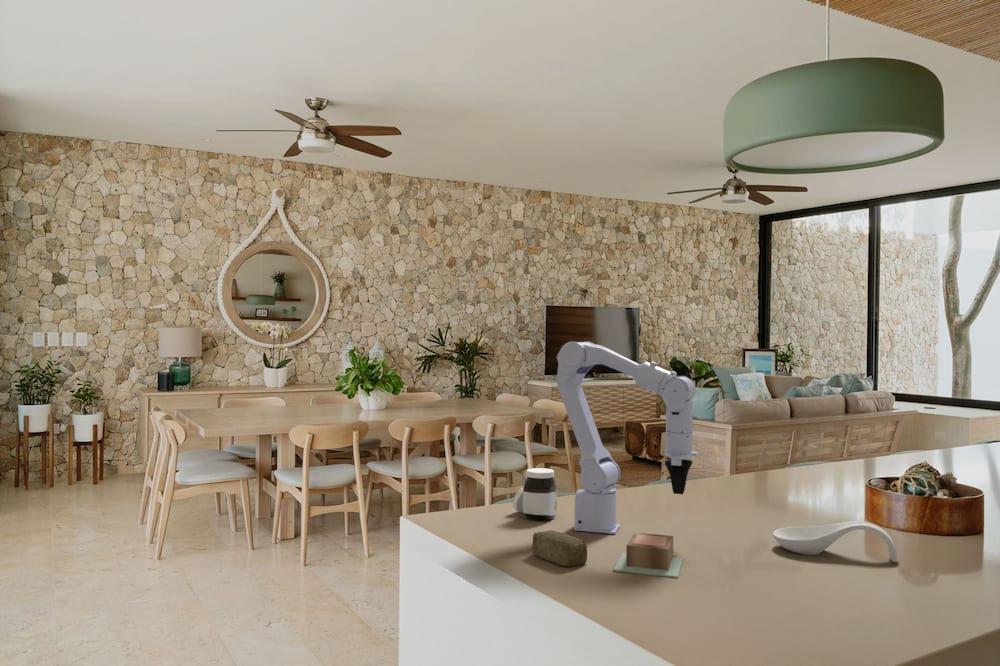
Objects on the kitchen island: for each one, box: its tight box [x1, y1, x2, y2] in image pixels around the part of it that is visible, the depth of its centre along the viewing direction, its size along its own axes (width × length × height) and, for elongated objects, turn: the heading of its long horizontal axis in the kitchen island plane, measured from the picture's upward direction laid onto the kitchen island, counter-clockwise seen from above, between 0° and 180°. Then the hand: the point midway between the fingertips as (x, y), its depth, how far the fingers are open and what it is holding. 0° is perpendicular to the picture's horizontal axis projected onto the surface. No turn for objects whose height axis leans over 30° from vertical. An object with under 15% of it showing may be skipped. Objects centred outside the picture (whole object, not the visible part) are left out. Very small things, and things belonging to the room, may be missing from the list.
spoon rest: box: [772, 520, 899, 563], centre depth 155 cm, size 24×12×7 cm, turn 69°
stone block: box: [531, 530, 588, 568], centre depth 149 cm, size 6×12×5 cm, turn 38°
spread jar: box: [512, 467, 558, 522], centre depth 185 cm, size 12×11×12 cm
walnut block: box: [626, 532, 674, 570], centre depth 147 cm, size 8×4×10 cm
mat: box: [613, 552, 684, 579], centre depth 145 cm, size 12×12×1 cm
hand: (678, 493), depth 163 cm, fingers closed
